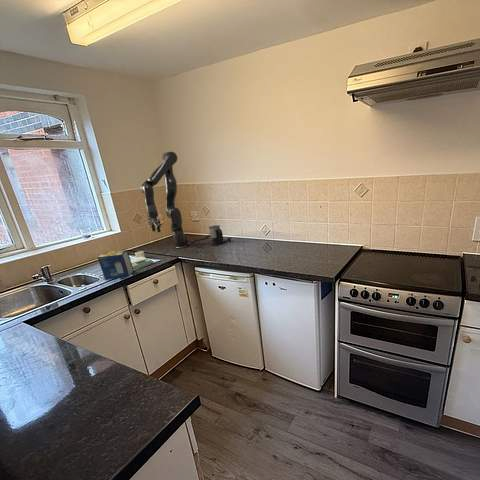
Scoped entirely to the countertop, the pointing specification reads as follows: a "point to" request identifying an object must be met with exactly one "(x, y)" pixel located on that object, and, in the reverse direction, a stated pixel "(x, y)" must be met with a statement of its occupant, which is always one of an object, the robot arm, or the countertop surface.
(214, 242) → the milk frother
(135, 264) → the scale
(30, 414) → the countertop surface
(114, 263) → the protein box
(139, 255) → the beige cup
